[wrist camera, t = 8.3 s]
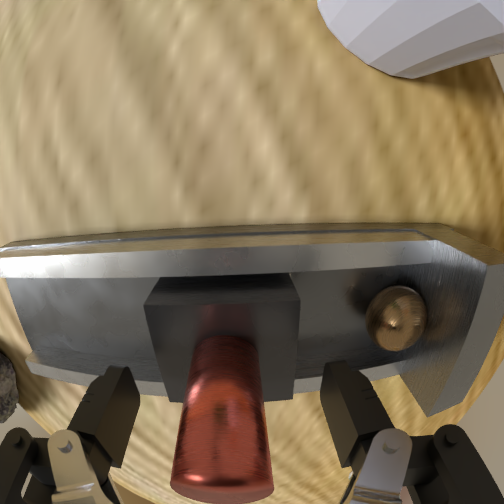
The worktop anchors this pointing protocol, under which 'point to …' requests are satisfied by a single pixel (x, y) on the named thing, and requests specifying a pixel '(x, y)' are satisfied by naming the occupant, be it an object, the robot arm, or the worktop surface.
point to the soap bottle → (416, 32)
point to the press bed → (307, 286)
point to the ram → (224, 376)
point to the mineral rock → (7, 389)
